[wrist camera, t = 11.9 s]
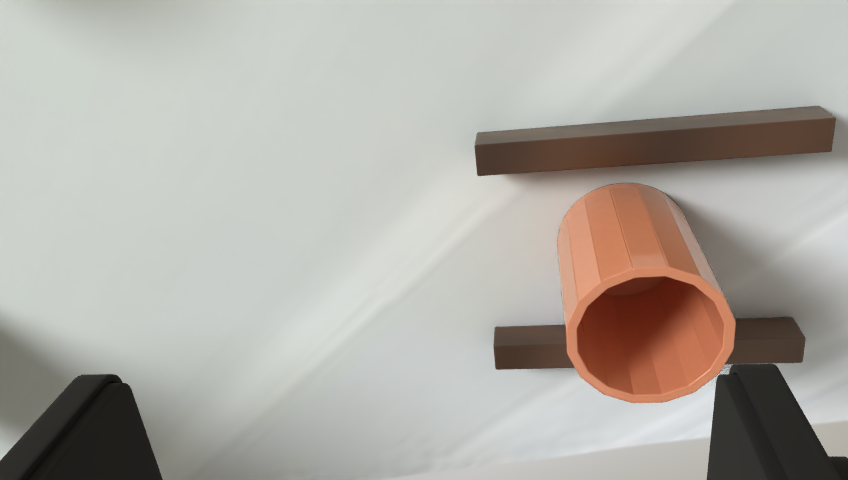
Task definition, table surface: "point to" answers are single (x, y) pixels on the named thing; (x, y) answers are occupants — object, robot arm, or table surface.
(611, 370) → the peach cup
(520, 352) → the guide rails
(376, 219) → the table surface
